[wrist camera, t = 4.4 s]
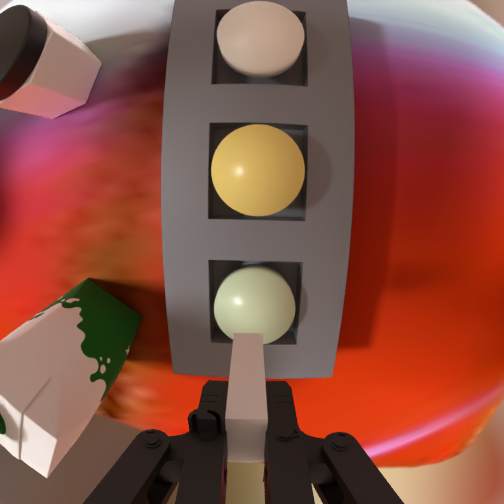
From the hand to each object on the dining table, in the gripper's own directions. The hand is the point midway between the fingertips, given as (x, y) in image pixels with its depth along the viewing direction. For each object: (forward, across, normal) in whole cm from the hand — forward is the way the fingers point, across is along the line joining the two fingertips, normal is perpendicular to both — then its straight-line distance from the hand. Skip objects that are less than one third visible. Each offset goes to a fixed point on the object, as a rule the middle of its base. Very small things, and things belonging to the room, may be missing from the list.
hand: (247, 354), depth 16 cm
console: (+13, 0, +10) cm, 16 cm away
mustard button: (+8, 0, +10) cm, 12 cm away
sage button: (+8, +1, 0) cm, 8 cm away
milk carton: (+13, -15, -5) cm, 21 cm away
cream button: (+8, +1, +20) cm, 21 cm away
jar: (+13, -19, +21) cm, 31 cm away
